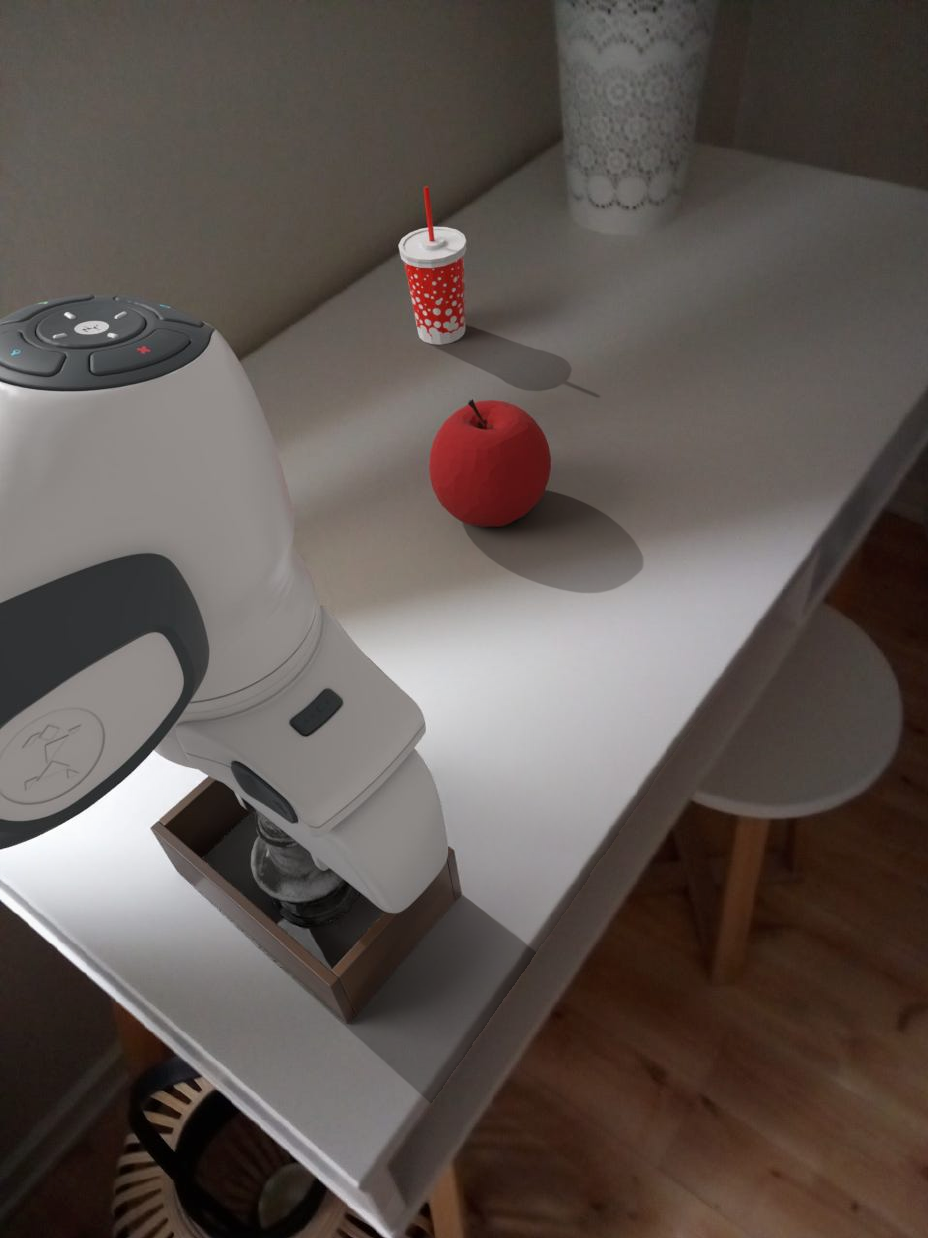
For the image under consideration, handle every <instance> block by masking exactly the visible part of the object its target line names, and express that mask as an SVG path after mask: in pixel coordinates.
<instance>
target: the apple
mask: <svg viewBox="0 0 928 1238" xmlns="http://www.w3.org/2000/svg"><path fill="white" fill-rule="evenodd" d="M551 456H552V455H551V450H550V444H549V442H548V440H547V437H546V435H545V433H544V431H543V429H542V428H541V426H540V425H539V424H538V423H537V422H536V420H535V419H534V417H532V416H531V415H530V413H528V412H527V411H526V410H524V409H522V408H521V407H519V406H517V405H515V404H513V403H510V402H507V401H502V400H495V399H489V400H488V399H487V400H479V401H474V399H473V398H472V399H470V400H468V401H467V405H465V406H463V407H461V408H460V409H457V410H456V411H455V412H454V413H452V414H451V415H449V417H448V418H446V420H444V422H443V424H442V425H441V426H440V428H439V429H438V430H437V433H436V435H435V437H434V439H433V442H432V445H431V449H430V454H429V465H428V470H429V471H428V472H429V480H430V483H431V488H432V490H433V492H434V495H435V496H436V499H437V500H438V502H439V503H440V505H441V507H443V508H444V509H445V511H447V512H448V513H449V514H450V515H451V516H452V517H454V518H455V519H456V520H458V521H459V522H462V523H464V524H466V525H470V526H475V527H481V528H482V527H492V528H493V527H495V528H496V527H498V528H499V527H503V526H504V527H505V526H506V525H508V524H511V523H513V522H515V521H517V520H519V519H521V518H522V517H524V516H525V515H526V514H528V513H529V512H530V511H531V510H532V509H533V508H534V507H535V506H536V505H537V504H538V502H540V499H541V497H542V496H543V495H544V493H545V490H546V488H547V486H548V483H549V479H550V475H551V469H552V457H551Z"/></svg>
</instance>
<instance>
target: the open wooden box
mask: <svg viewBox="0 0 928 1238" xmlns="http://www.w3.org/2000/svg"><path fill="white" fill-rule="evenodd" d="M250 815H251V813H250V812H249V811H248V810H246V809H245V808H244V807H243V806H241V805H240V803H239V801H238V799H237V797H236V794H235V792H234V791H233V790H232V789H230V788H229V787H228V786H227V785H225V784H224V783H223V782H220V781H218V780H216V779H214V778H212V777H210V776H208V775H207V777H205V778H204V779H203V780H201V782H200V783H199V784H197V785H196V786H195V787H194V788H193V789H192V790H191V791H190V792H188V793H187V795H185V796H184V797H183V798H182V799H181V800H179V801H178V802H177V803H175V805H174V806H173V807H172V808H171V809H169V810H168V811H167V812H166V813H165V814H163V815H162V816H161V817H160V818H159V819H158V821H156V822H155V823H154V824H153V825H152V826H150V831H151V832H152V835H154V837H155V839H156V840H157V842H158V843H159V845H160V847H161V848H162V850H163V851H164V853H165V854H166V856H167V858H168V860H169V861H170V863H171V864H172V866H173V867H174V869H175V871H176V872H177V873H178V874H179V875H180V876H182V877H183V878H184V879H185V880H186V881H187V882H188V883H189V884H190V885H191V886H193V888H195V889H196V890H197V891H198V892H199V893H200V894H201V895H202V896H204V897H205V898H206V899H207V900H208V901H209V902H210V903H212V905H214V906H215V907H216V908H217V909H218V910H219V911H220V912H221V913H223V914H224V915H225V916H226V917H227V918H228V919H229V920H230V921H231V922H233V923H234V924H235V925H236V926H237V927H238V928H239V929H240V930H242V931H243V932H244V933H245V934H246V936H249V938H251V939H252V941H254V942H255V943H256V944H257V945H258V946H259V947H260V948H262V949H263V950H264V951H265V952H266V953H267V954H268V955H269V956H270V957H271V958H272V959H274V960H275V961H276V962H277V963H278V964H279V965H280V966H281V967H282V968H284V970H286V971H287V972H289V974H290V975H291V976H292V977H294V978H295V980H297V981H298V982H299V983H301V984H302V986H303V987H305V988H306V989H307V990H308V991H309V992H310V993H312V994H313V995H314V996H315V997H316V999H318V1000H319V1001H321V1002H322V1004H324V1006H326V1007H327V1008H328V1009H329V1010H330V1011H332V1012H333V1013H334V1014H335V1015H336V1016H337V1017H338V1018H339V1019H341V1020H342V1021H343V1022H344V1023H345V1024H346V1025H349V1024H350V1023H351V1022H352V1020H353V1019H355V1017H356V1016H357V1015H358V1014H359V1013H360V1011H362V1009H363V1008H364V1007H365V1006H366V1005H367V1003H368V1002H369V1001H370V1000H371V999H372V998H373V996H374V995H375V994H377V992H378V991H379V989H380V988H381V987H382V986H383V985H384V984H385V983H386V981H387V980H388V979H389V978H390V977H391V976H392V975H393V973H394V972H395V971H396V970H397V969H398V968H399V967H400V965H401V964H402V963H403V962H404V961H405V960H406V958H407V957H408V956H409V955H410V954H411V953H412V952H413V951H414V950H415V948H416V947H417V946H418V945H419V943H420V942H422V940H423V939H424V938H425V937H426V936H427V934H428V933H430V931H431V929H433V928H434V927H435V926H436V924H437V923H438V922H439V921H440V920H441V918H442V917H443V916H444V915H445V914H446V912H448V911H449V909H450V908H451V907H452V906H453V905H454V904H455V902H456V901H457V900H458V899H459V898H460V897H461V895H462V892H463V891H462V887H461V886H462V885H461V881H460V875H459V869H458V864H457V858H456V852H455V849H453V848H452V847H451V846H449V845H448V857H447V860H446V863H445V865H444V866H443V868H442V870H441V871H440V872H439V874H438V875H437V876H436V877H435V879H434V880H433V881H432V882H431V884H430V885H429V886H428V887H427V888H426V889H425V891H424V892H423V893H422V894H421V895H420V896H419V897H418V898H417V899H416V900H415V901H414V902H413V903H412V904H411V905H410V906H409V907H407V908H406V909H405V910H403V911H402V912H399V913H387V912H384V911H383V913H382V914H381V915H380V916H379V917H378V918H377V920H375V922H374V923H372V924H371V926H370V927H369V928H368V929H367V930H366V931H365V933H363V935H362V936H361V937H360V938H359V939H358V940H357V941H356V943H355V944H354V945H353V946H352V947H351V948H350V949H349V950H348V951H347V952H346V954H344V956H343V957H342V958H340V960H339V961H338V963H336V964H335V966H334V967H333V968H332V969H331V970H330V969H329V968H328V967H327V966H326V965H325V964H323V962H321V961H320V960H319V959H318V958H317V957H315V956H314V954H312V953H311V952H310V951H309V950H308V949H306V948H305V947H304V946H303V945H302V944H301V943H300V942H299V941H297V940H296V939H295V938H294V937H293V936H291V934H289V933H288V932H287V930H285V929H284V928H282V927H281V926H280V925H279V924H278V923H276V922H275V921H274V919H272V918H271V917H270V916H268V915H267V914H266V913H265V912H264V911H263V910H262V909H261V908H259V907H258V906H257V905H256V904H255V903H254V902H252V900H250V899H249V898H248V897H247V896H245V895H244V894H243V893H242V892H241V891H240V890H239V889H237V887H235V886H234V885H233V884H232V883H231V882H230V881H229V880H227V878H225V877H224V876H223V875H221V874H220V873H219V872H218V871H217V870H216V869H215V868H214V867H212V865H210V864H209V863H208V862H207V861H205V860H204V857H206V856H207V855H208V854H209V853H210V852H211V851H212V850H213V849H214V848H215V847H216V846H217V845H218V844H219V843H221V841H223V840H224V839H225V838H226V837H227V836H228V835H229V834H230V833H231V832H232V831H233V830H235V828H237V827H238V826H239V825H240V824H241V823H242V822H243V821H244V820H245V819H246V818H247V817H248V816H250Z"/></svg>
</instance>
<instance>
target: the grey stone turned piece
mask: <svg viewBox="0 0 928 1238" xmlns="http://www.w3.org/2000/svg"><path fill="white" fill-rule="evenodd" d="M255 810H256V812H257V813H256V816H254V826H255V829H256V833H257V835H258V836H257V837H256V839H255V840H254V844H253V847H252V849H251V853H250V869H251V872H252V875H253V879H254V881H255V882H256V883H257V885H258V887H259V888H260V890H262V891H263V892H264V893H265V894H267V895H268V896H269V897H271V901H272V904H273V906H274V908H275V909H276V911H277V912H278V914H279V915H280V916H281V917H283V918H284V919H285V920H287V921H288V922H289V923H292V924H295V925H298V926H305V927H315V926H322V925H327V924H329V923H331V922H334V921H336V920H337V919H339V918H340V917H341V916H343V915H344V914H345V913H347V912H348V910H349V909H350V908H351V907H352V906H353V905H354V904H355V902H356V900H357V898H358V896H359V894H360V892H359V891H358V890H356V889H355V888H354V887H353V886H351V885H350V884H349V883H348V882H346V881H345V880H344V879H343V878H341V877H340V876H339V875H338V874H336V873H335V872H334V871H333V870H331V869H330V868H329V869H327V870H325V871H322V870H321V869H319V868H318V867H317V866H316V865H315V864H313V863H312V862H311V861H310V860H309V859H307V858H306V857H305V856H304V855H303V854H302V850H301V849H300V847H299V845H298V842H297V841H295V840H294V839H293V838H292V837H290V836H289V835H288V834H287V833H285V832H284V831H283V830H282V829H280V828H279V827H278V826H277V825H275V824H274V823H273V822H272V821H270V820H269V819H268V818H267V817H265V816H264V815H263V814H262V813H260V812H259V811H258V810H257V809H255Z"/></svg>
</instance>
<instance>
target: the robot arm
mask: <svg viewBox="0 0 928 1238" xmlns="http://www.w3.org/2000/svg"><path fill="white" fill-rule="evenodd" d="M294 534H295V511H294V506H293V502H292V498H291V494H290V491H289V486H288V483H287V479H286V475H285V472H284V469H283V465H282V463H281V459H280V455H279V452H278V449H277V446H276V444H275V441H274V437H273V435H272V431H271V429H270V427H269V424H268V421H267V419H266V416H265V413H264V411H263V409H262V406H261V403H260V401H259V399H258V396H257V394H256V392H255V390H254V387H253V386H252V383H251V381H250V379H249V377H248V375H247V373H246V371H245V369H244V367H243V365H242V364H241V362H240V360H239V359H238V357H237V355H236V354H235V352H234V351H233V349H232V348H231V345H230V344H229V343H228V341H227V340H226V339H225V338H224V336H222V334H221V333H220V332H219V331H218V330H217V329H216V327H214V326H213V325H211V324H209V323H207V322H205V321H203V320H202V319H200V318H198V317H197V316H194V315H193V314H191V313H189V312H186V311H184V310H181V309H179V308H175V307H174V306H171V305H168V304H165V303H162V302H158V301H156V300H152V299H149V298H144V297H142V296H136V295H133V294H132V295H131V294H125V293H124V294H93V293H86V294H77V295H69V296H63V297H57V298H53V299H47V300H44V301H39V302H36V303H34V304H30V305H27V306H24V307H21V308H19V309H17V310H15V311H13V312H11V313H10V314H7V315H6V316H4V317H2V318H0V851H1V850H4V849H8V848H11V847H15V846H17V845H20V844H23V843H26V842H28V841H31V840H33V839H36V838H37V837H40V836H42V835H44V834H46V833H48V832H49V831H52V830H54V829H56V828H58V827H59V826H61V825H63V824H65V823H66V822H68V821H70V820H71V819H73V818H75V817H77V816H79V815H80V814H82V813H83V812H85V811H86V810H88V809H89V808H90V807H92V806H93V805H95V804H96V803H97V802H99V801H100V800H101V799H102V798H104V797H105V796H107V794H109V793H110V792H111V791H112V790H114V789H115V788H116V787H117V786H118V785H120V784H122V782H123V781H124V780H126V779H127V778H128V777H129V776H130V775H131V774H132V773H134V771H136V770H137V769H138V768H139V766H141V764H142V763H144V762H145V760H146V759H147V758H148V757H149V756H150V755H151V754H152V753H153V752H155V753H156V754H157V755H159V756H160V757H162V758H164V759H165V760H167V761H169V762H172V763H173V764H176V765H179V766H182V767H185V768H188V769H194V770H198V771H200V772H201V773H203V774H205V775H206V776H207V777H208V776H210V777H212V778H214V779H216V780H218V781H220V782H223V783H224V784H225V785H227V786H228V787H229V788H230V789H232V790H233V791H234V792H235V794H236V797H237V799H238V801H239V803H240V805H241V806H243V807H244V808H245V809H246V810H248V811H249V812H250V815H253V816H254V817H255V816H256V813H257V812H256V810H255V809H257V810H258V811H259V812H260V813H262V814H263V815H264V816H265V817H267V818H268V819H269V820H270V821H272V822H273V823H274V824H275V825H277V826H278V827H279V828H280V829H282V830H283V831H284V832H285V833H287V834H288V835H289V836H290V837H292V838H293V839H294V840H295V841H297V842H298V845H299V847H300V849H301V850H302V854H303V855H304V856H305V857H306V858H307V859H309V860H310V861H311V862H312V863H313V864H315V865H316V866H317V867H318V868H319V869H321V870H322V871H325V870H327V869H329V868H330V869H331V870H333V871H334V872H335V873H336V874H338V875H339V876H340V877H341V878H343V879H344V880H345V881H346V882H348V883H349V884H350V885H351V886H353V887H354V888H355V889H356V890H358V891H359V894H361V895H363V896H364V897H365V898H366V899H368V900H369V901H370V902H371V903H372V904H373V905H374V906H376V907H377V908H378V909H380V910H381V911H383V913H384V912H387V913H399V912H402V911H403V910H405V909H406V908H407V907H409V906H410V905H411V904H412V903H413V902H414V901H415V900H416V899H417V898H418V897H419V896H420V895H421V894H422V893H423V892H424V891H425V889H426V888H427V887H428V886H429V885H430V884H431V882H432V881H433V880H434V879H435V877H436V876H437V875H438V874H439V872H440V871H441V870H442V868H443V866H444V865H445V863H446V860H447V857H448V846H449V842H448V835H447V830H446V829H447V827H446V822H445V817H444V813H443V808H442V803H441V799H440V795H439V791H438V787H437V784H436V782H435V779H434V776H433V774H432V773H431V770H430V768H429V766H428V765H427V763H426V761H425V760H424V758H423V757H422V755H421V753H419V752H418V750H417V749H416V747H417V745H418V744H419V743H420V741H421V740H422V738H423V737H424V736H425V735H426V731H427V726H426V720H425V717H424V714H423V711H422V709H421V708H420V706H419V704H418V703H417V702H416V701H415V700H414V699H413V698H412V697H411V696H410V695H409V694H408V693H407V692H406V691H405V690H403V689H402V688H401V686H399V685H398V684H397V683H396V682H395V681H394V680H393V679H392V678H390V676H388V675H387V674H386V673H385V672H384V671H383V670H382V669H381V668H380V667H379V666H378V665H377V664H376V663H375V662H374V661H373V660H372V659H371V658H370V657H369V656H368V655H366V653H364V651H362V649H361V648H360V647H359V646H358V645H357V644H356V642H355V641H354V640H353V639H352V637H350V635H349V634H348V632H347V631H346V630H345V628H344V627H343V626H342V624H341V623H340V621H339V620H338V619H337V617H336V616H335V615H334V614H333V612H332V611H331V610H330V609H329V608H328V607H327V606H326V605H325V604H322V605H321V603H320V598H319V595H318V592H317V589H316V584H315V581H314V578H313V575H312V573H311V572H310V569H309V567H308V565H307V563H306V562H305V561H304V559H303V558H302V556H301V555H300V553H299V552H298V551H297V550H296V549H295V547H294Z"/></svg>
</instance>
